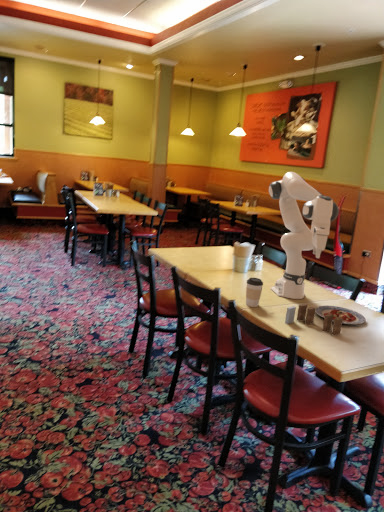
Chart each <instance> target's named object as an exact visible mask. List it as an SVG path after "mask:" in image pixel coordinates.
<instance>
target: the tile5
mask: <svg viewBox="0 0 384 512" xmlns="http://www.w3.org/2000/svg"><path fill="white" fill-rule="evenodd" d="M342 320H343V318H341V317H338V318H335V319H334V321H333V323H332V328H331V336H337V335H340V334H341V331H342V325H343V323H342Z"/></svg>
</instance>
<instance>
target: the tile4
mask: <svg viewBox="0 0 384 512" xmlns="http://www.w3.org/2000/svg"><path fill="white" fill-rule="evenodd" d="M332 320H333V314H327V315H325V318H324V319H323V325H322V332H324V333H325V332H329V331H332V327H333V321H332Z"/></svg>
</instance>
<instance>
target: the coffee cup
mask: <svg viewBox="0 0 384 512" xmlns="http://www.w3.org/2000/svg"><path fill="white" fill-rule="evenodd" d="M263 285H264V282H263V280H262V279H260V278H258V277H249V278H248V279H247V280H246V288H245V290H246V291H245V305H246V306H248V307H250V308H251V307H252V308H257V307H259V304H260V299H261V295H262V290H263Z"/></svg>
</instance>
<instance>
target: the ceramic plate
mask: <svg viewBox="0 0 384 512" xmlns="http://www.w3.org/2000/svg"><path fill="white" fill-rule="evenodd" d="M315 308H316V310H315V314H317V315H318V316H320V317H322V318H324V319H325V315H327V314H333V320H332V322H334V319H335V318H338V317H341V318H343V320H342V325H344V324H345V325H361V324H363V323H365V322H366V317H365V316H364V315H363V314H361V313H360V312H358V311H355V310H352V309H349V308H345V307H342V306H337V305H320V306H317V307H315Z"/></svg>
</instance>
